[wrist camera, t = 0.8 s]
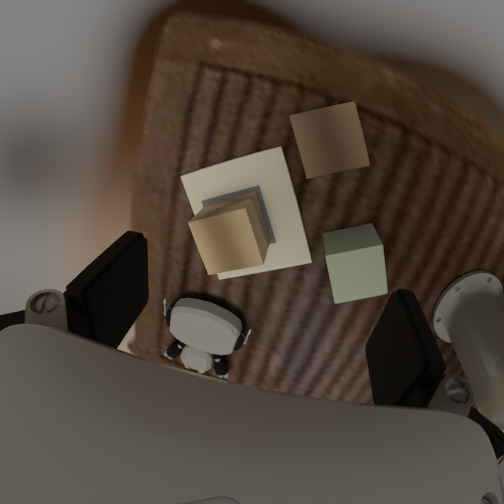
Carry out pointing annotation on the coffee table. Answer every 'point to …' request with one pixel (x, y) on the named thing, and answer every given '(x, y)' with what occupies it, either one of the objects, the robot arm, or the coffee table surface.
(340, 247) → the sage block
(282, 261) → the board
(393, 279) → the coffee table surface
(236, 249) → the oak block
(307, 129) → the walnut block
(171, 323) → the robot toy
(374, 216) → the coffee table surface
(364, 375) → the coffee table surface
